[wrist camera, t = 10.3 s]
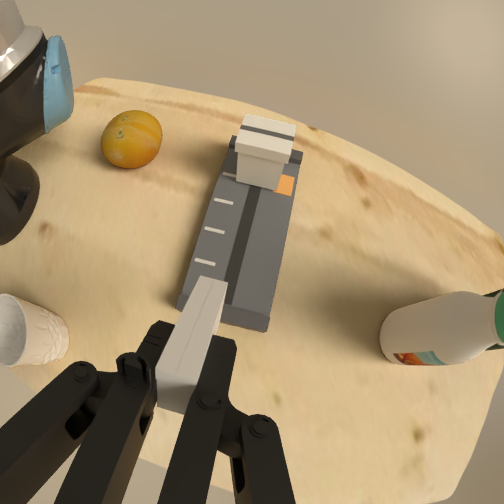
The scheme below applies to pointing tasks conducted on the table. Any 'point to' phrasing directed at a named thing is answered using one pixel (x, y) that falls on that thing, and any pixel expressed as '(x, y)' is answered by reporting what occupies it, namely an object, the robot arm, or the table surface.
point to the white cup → (30, 333)
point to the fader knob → (263, 150)
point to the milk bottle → (443, 329)
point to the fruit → (132, 139)
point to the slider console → (244, 242)
